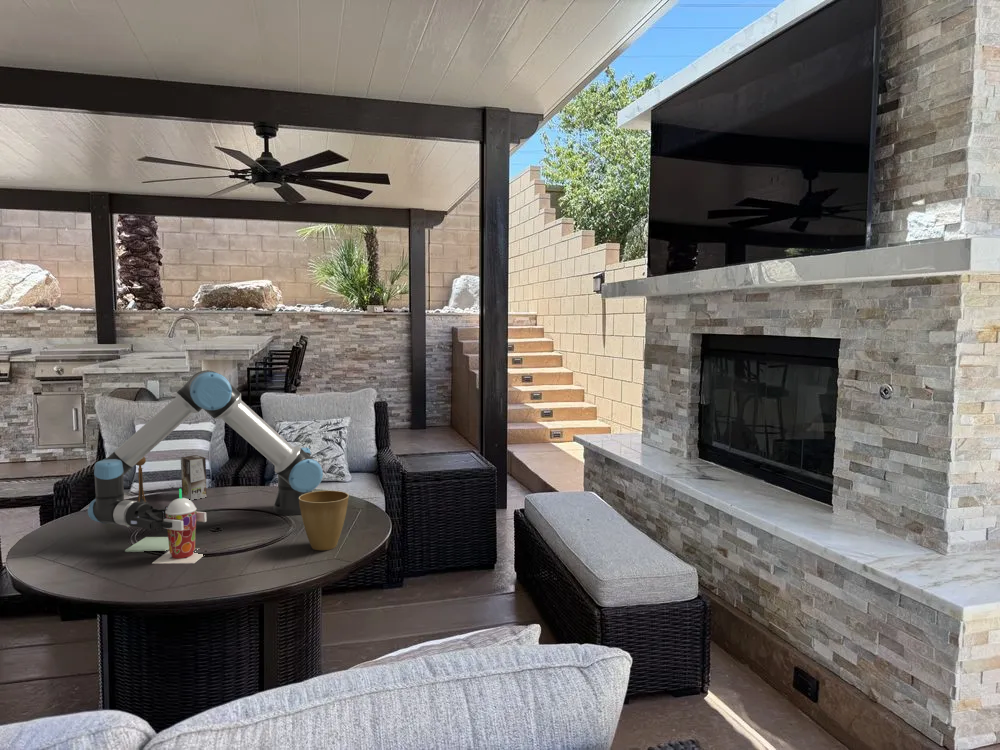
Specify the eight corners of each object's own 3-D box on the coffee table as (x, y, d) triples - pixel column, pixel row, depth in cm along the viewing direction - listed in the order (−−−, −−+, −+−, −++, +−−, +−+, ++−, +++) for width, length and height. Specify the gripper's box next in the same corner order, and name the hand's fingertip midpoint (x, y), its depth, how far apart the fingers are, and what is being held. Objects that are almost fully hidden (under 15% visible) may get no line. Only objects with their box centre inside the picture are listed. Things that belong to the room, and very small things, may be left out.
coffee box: (207, 497, 260) (206, 457, 259) (190, 500, 255) (189, 460, 254) (197, 493, 266) (196, 454, 265) (181, 496, 262) (180, 456, 260)
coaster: (183, 538, 210) (183, 536, 210) (165, 551, 198) (165, 549, 198) (145, 538, 210) (145, 537, 210) (125, 551, 198) (125, 549, 198)
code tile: (211, 549, 201) (211, 548, 201) (194, 563, 189) (194, 562, 189) (171, 549, 200) (171, 548, 200) (151, 563, 188) (151, 562, 188)
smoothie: (173, 550, 198) (171, 485, 197) (202, 550, 199) (200, 485, 197) (161, 560, 190) (159, 492, 188) (191, 560, 191) (189, 492, 189)
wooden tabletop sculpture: (133, 511, 241) (130, 457, 239) (129, 508, 244) (127, 455, 243) (150, 508, 245) (148, 455, 243) (147, 505, 248) (145, 453, 247)
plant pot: (331, 557, 194) (330, 504, 193) (289, 551, 199) (288, 499, 198) (358, 541, 208) (358, 492, 206) (319, 536, 213) (318, 488, 212)
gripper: (162, 516, 210) (220, 523, 202) (104, 536, 190) (165, 545, 183) (162, 493, 209) (219, 499, 202) (103, 511, 189) (164, 518, 182)
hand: (194, 521), depth 192 cm, fingers closed on smoothie, 8 cm apart
